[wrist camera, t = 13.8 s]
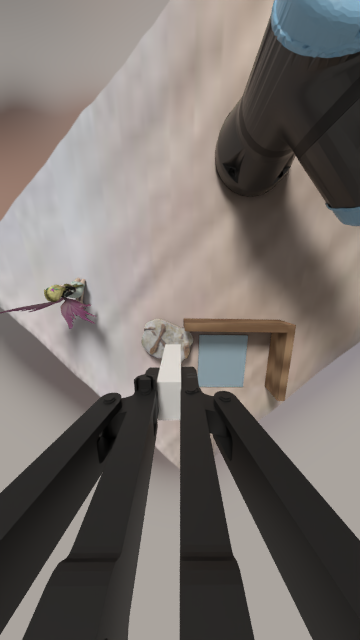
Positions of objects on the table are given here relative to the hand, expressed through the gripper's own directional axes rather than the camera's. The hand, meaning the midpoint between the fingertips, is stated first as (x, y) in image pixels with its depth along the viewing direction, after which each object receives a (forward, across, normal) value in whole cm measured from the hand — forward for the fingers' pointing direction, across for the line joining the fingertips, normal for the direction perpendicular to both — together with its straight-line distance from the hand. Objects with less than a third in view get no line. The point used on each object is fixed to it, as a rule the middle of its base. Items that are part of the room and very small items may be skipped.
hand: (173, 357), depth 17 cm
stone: (+26, -1, -11) cm, 28 cm away
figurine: (+25, -22, +4) cm, 34 cm away
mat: (+26, +11, -13) cm, 31 cm away
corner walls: (+26, +11, -12) cm, 30 cm away
